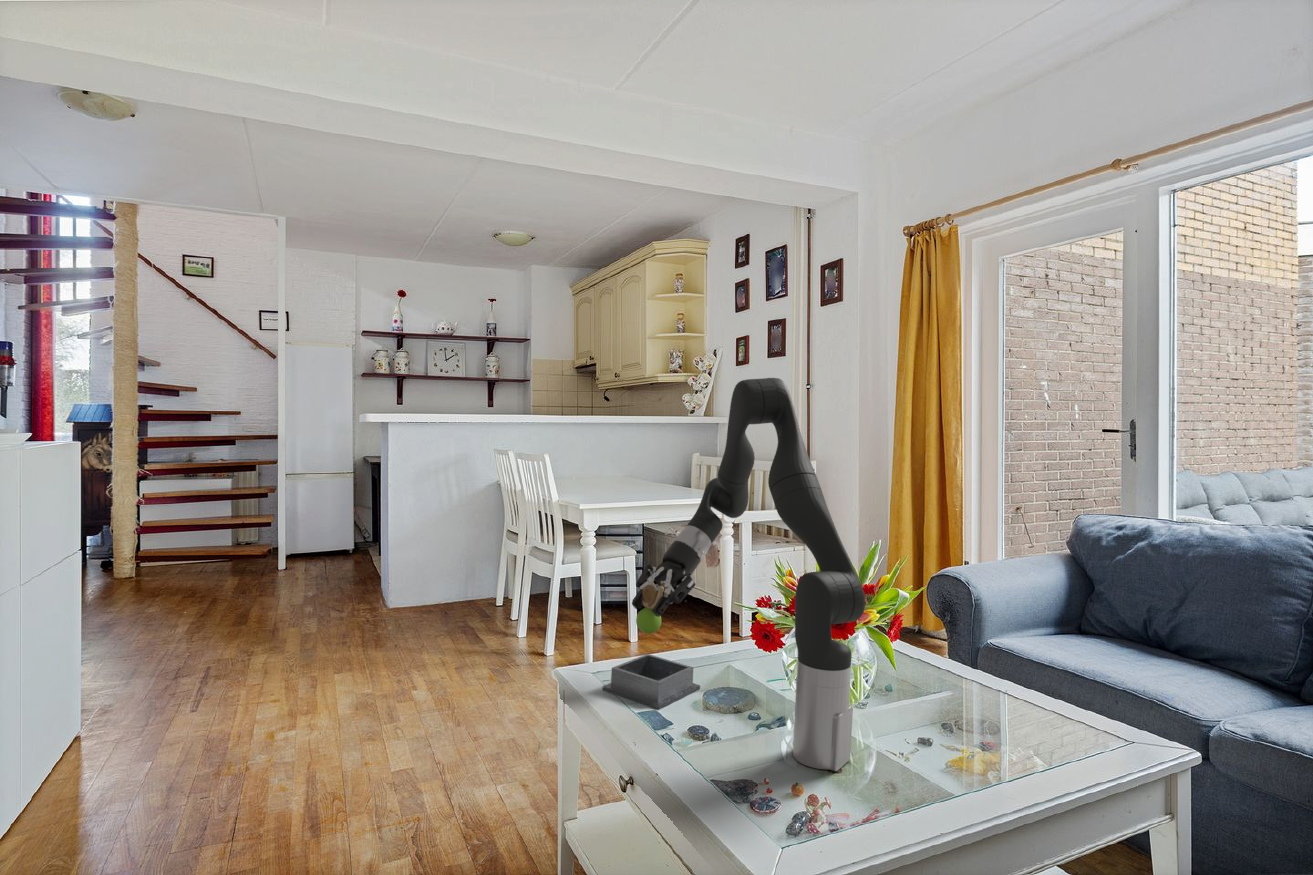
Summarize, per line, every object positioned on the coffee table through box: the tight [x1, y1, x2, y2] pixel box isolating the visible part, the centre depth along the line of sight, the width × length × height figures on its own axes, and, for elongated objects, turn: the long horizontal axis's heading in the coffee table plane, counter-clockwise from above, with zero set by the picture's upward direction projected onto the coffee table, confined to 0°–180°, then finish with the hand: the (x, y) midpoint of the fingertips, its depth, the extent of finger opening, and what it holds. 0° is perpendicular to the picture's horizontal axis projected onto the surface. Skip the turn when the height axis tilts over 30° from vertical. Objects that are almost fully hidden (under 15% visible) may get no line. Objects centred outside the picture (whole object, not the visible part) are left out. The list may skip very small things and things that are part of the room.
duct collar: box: [602, 653, 701, 710], centre depth 159 cm, size 15×15×5 cm
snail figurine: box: [635, 581, 665, 635], centre depth 158 cm, size 5×6×12 cm
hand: (645, 610), depth 157 cm, fingers closed on snail figurine, 6 cm apart
